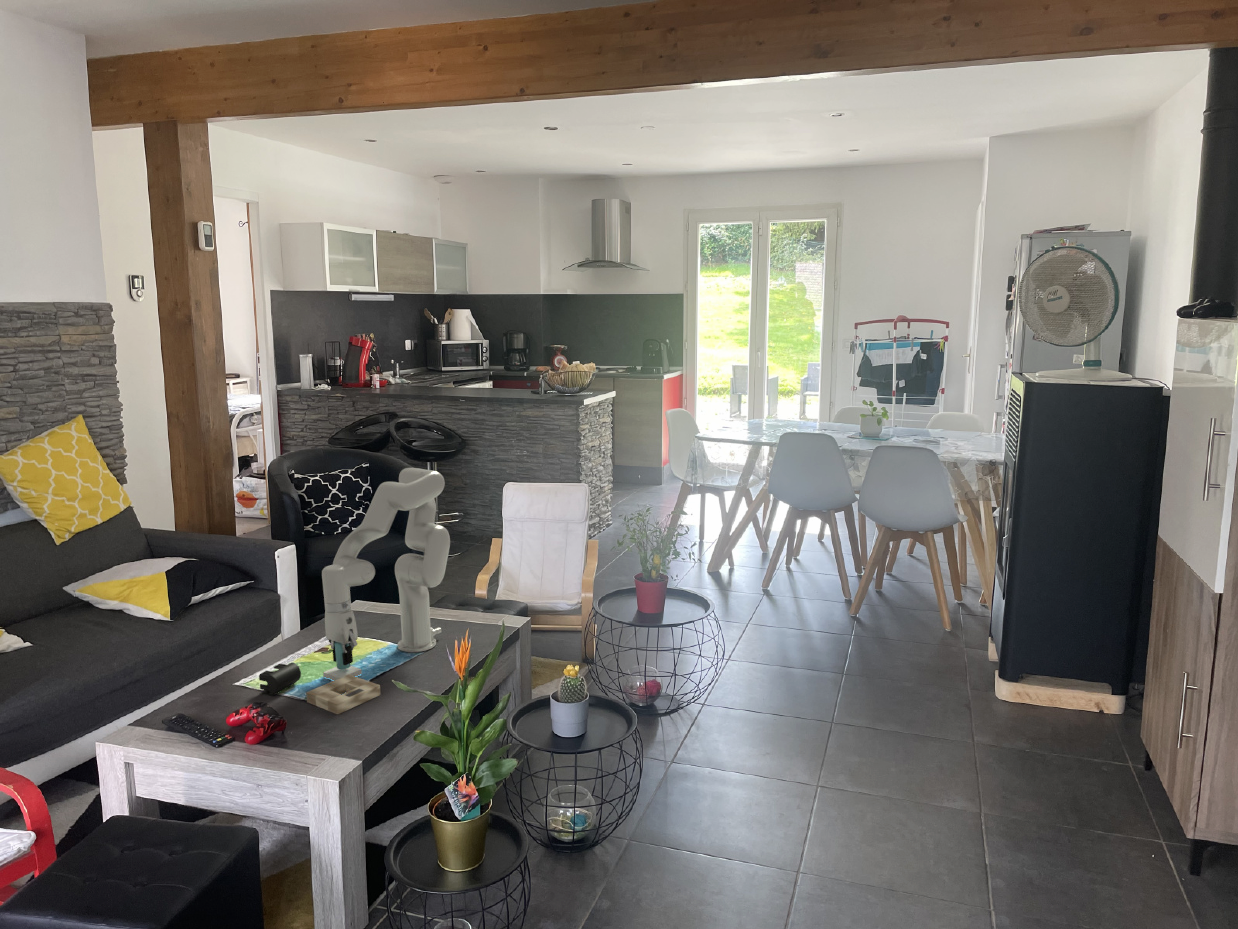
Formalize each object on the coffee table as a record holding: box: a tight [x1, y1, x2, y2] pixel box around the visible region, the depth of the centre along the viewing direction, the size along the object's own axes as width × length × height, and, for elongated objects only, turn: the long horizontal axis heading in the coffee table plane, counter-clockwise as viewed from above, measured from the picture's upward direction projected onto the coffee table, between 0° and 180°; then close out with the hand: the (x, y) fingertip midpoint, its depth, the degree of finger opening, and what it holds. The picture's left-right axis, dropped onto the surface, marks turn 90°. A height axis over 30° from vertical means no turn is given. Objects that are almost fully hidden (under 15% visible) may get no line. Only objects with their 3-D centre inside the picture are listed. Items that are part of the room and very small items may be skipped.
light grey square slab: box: [322, 664, 363, 680], centre depth 268 cm, size 8×8×2 cm
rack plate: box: [305, 674, 381, 715], centre depth 253 cm, size 15×14×3 cm
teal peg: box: [335, 640, 351, 669], centre depth 268 cm, size 4×4×8 cm
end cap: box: [258, 662, 302, 697], centre depth 260 cm, size 10×7×7 cm
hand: (343, 661), depth 268 cm, fingers closed on teal peg, 4 cm apart
